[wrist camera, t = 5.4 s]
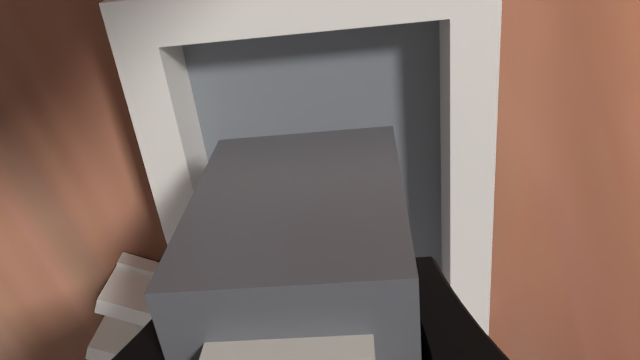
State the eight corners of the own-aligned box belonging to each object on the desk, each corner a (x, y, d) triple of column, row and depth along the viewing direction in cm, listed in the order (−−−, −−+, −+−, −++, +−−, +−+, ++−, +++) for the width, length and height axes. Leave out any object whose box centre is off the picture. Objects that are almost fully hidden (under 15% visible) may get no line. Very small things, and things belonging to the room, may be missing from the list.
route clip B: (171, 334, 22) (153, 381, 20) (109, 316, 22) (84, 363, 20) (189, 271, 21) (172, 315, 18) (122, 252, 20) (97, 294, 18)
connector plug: (403, 328, 16) (430, 559, 10) (259, 335, 16) (215, 561, 11) (392, 125, 13) (423, 301, 8) (218, 139, 13) (132, 316, 8)
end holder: (474, 313, 21) (487, 358, 19) (215, 326, 22) (202, 371, 20) (483, -52, 15) (503, -40, 13) (128, -14, 16) (98, 3, 14)
